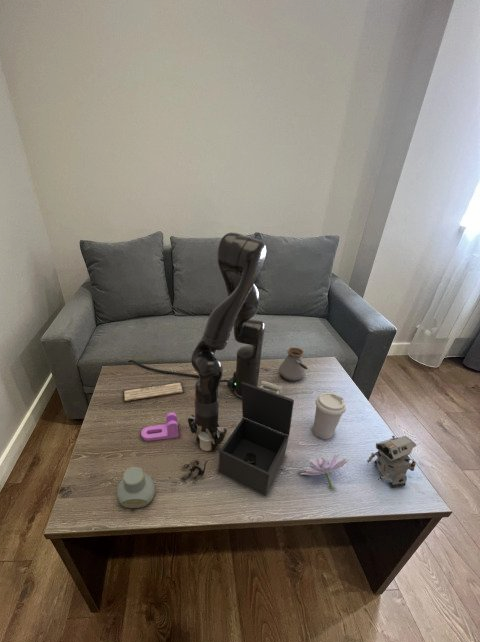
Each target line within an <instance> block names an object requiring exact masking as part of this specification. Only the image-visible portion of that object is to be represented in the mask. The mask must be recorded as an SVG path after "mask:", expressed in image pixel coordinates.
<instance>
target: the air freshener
mask: <svg viewBox="0 0 480 642" xmlns="http://www.w3.org/2000/svg"><path fill="white" fill-rule="evenodd" d="M153 479H154V478H152V477H151V476H150V475H149V474H147V473H145V472H144V470H143V469H142V468H141V467H139V466H131V467H128V468H127V469H125V471H124V472H123V475H122V479H121V480H120V482H119V483H118V485H117V489H116V496H117V500H118V502H119V503H120V504H121V506H122V507H124V508H128V509H139V508H144V507H147V505H148V504H149V503H150V502H151V501H152V500H153V498H154V496H155V493H156V484H155V481H154V480H153Z"/></svg>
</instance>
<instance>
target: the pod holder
mask: <svg viewBox="0 0 480 642" xmlns="http://www.w3.org/2000/svg"><path fill="white" fill-rule="evenodd" d="M256 459H257V458H256V455H255V454H253V453H247V454H246V455H245V458H244V461H246V462H248V463H250V464H252V465H254V466H256Z"/></svg>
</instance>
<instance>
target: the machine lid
mask: <svg viewBox="0 0 480 642" xmlns="http://www.w3.org/2000/svg"><path fill="white" fill-rule="evenodd" d="M264 388H265V389H264ZM267 389H268V390H267ZM270 390H271V391H270ZM273 391H274V392H273ZM282 391H283V387H282V386H280V385H277V384H275V383H272V382H268V381H266V380H261V383H260V386H258V387H256V386H253V385H250V384H248V383H245V382H242V383H241V392H242V399H241V409H242V418H246V419H248V420H251V421H253V422H256V423H258V424H261V425H263V426H265V427H268V428H270V429H273V430H275V431H278V432H280V433H283V434H285V435H288V436H289V437H290V433H291V425H292V419H293V418H292V417H293V411H294V404H295V402H294V401H295V400H294V399H293V398H291V397H287V396H284V395H281V393H282Z"/></svg>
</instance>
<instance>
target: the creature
mask: <svg viewBox="0 0 480 642" xmlns="http://www.w3.org/2000/svg"><path fill="white" fill-rule="evenodd" d="M195 463H196V464H194V463H188V464H184V466H183V468H185V469H188V468H189V471H190V472H189V474H188V475H186V476H183V477H182V480H183V481H186V480H188V479H189V478H192V479H194V480H196V479H197V477H198V476H203V475H204V474H205V472H206V471H205V470H206V465H207V463H208V460H206V461H205V462H204V465H203V470H202V468H201V467H200V466H198V465H200V462H199V461H198V460H195ZM190 466H191V467H190ZM196 469H197V470H198V472H197V474H196V475H195V476H192V475H191V474H192V473H193V472H194V471H195V470H196Z"/></svg>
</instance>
